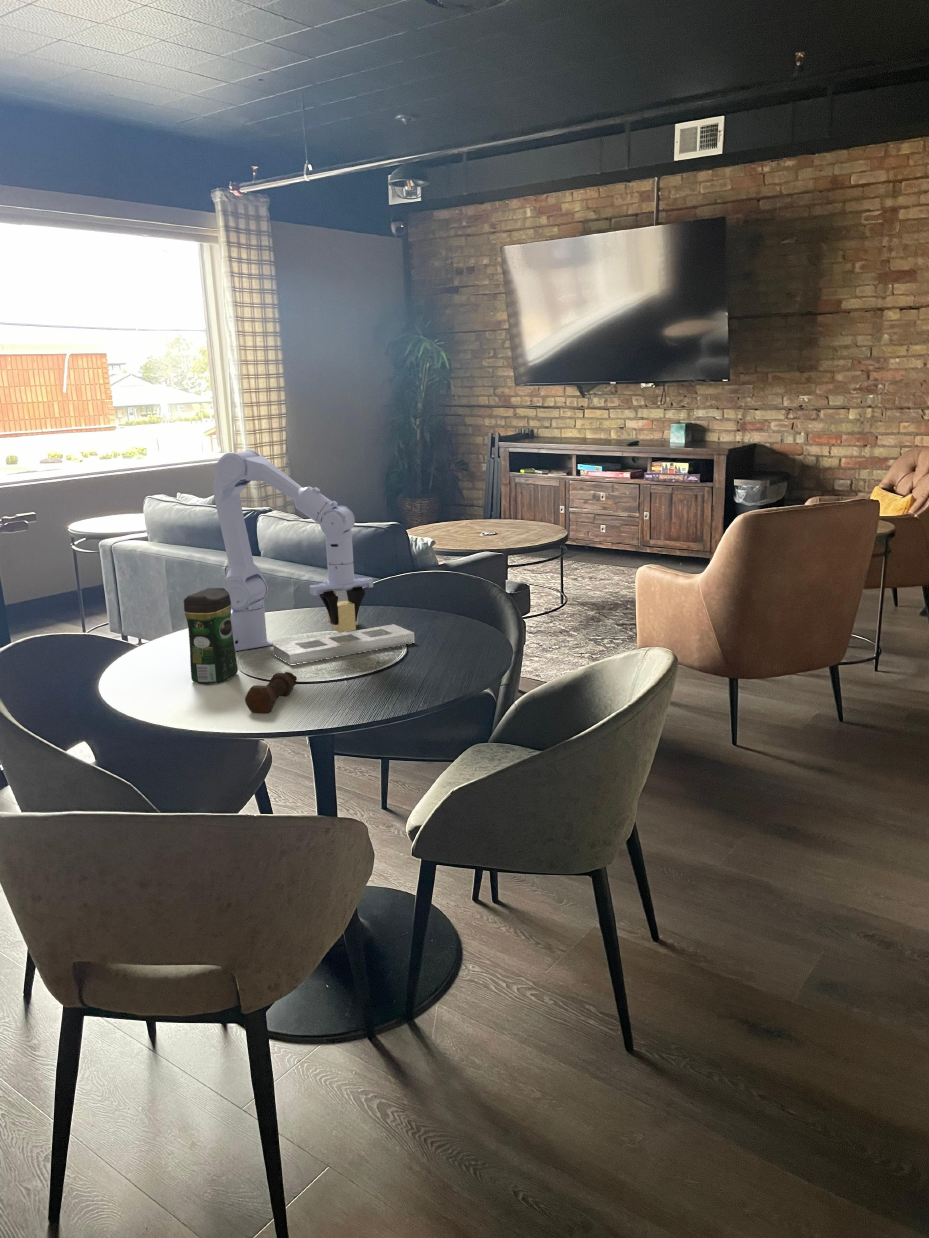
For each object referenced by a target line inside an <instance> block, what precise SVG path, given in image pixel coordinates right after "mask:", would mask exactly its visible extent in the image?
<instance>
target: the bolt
mask: <svg viewBox="0 0 929 1238" xmlns="http://www.w3.org/2000/svg"><path fill="white" fill-rule="evenodd" d="M297 683H298V677H297V676H296V675H295V674H293V673H292V672H287V671H285V672H278V673H277V672H276V673H274V674H273V675H272V676H271V679H270V680H269V682H268V684H266V685H257V684H256V685H252V686H250V688H249V689H248V690H247V693H246V695H245V697H244V702H245V705H246V706H247V708H248V709H249V712H251V713H252V714H259V715H264V714H265V715H266V714H269V713H271V712H272V711H273V709H274V706H275V705H276V703H277V701H278V699H279V698H280V697H281V698H284V697H285V698H286V697H289V696H290V695H291V694H292V691H294V688H295V686H296V685H297ZM288 695H289V696H288Z"/></svg>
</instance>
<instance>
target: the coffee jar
mask: <svg viewBox="0 0 929 1238" xmlns="http://www.w3.org/2000/svg"><path fill="white" fill-rule="evenodd" d="M231 609H232V608H231V600H230V595H229V593H228V592H227V591H226V588H225V587H206V588H205V589H202V590H200V591H197V592H196V593H192V594H189V595H187V596H186V597H184V599H183V613H184V616H185V618H186V619H185V620H186V623H187V628H188V629H187V631H188V640H189V642H188V644H189V659H190V660H189V664H190V665H189V667H190V676H191V677H190V678H191V681H192V682H194V683H196V684H199V685H206V686H208V685H213V684H221V683H224V682H227V681H228V680H230V679H232V678H233V677H234V676H236V675H237V674H238V672H239V667H238V660H237V655H236V651H235V647H234V640H233V633H232V625H231Z"/></svg>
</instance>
